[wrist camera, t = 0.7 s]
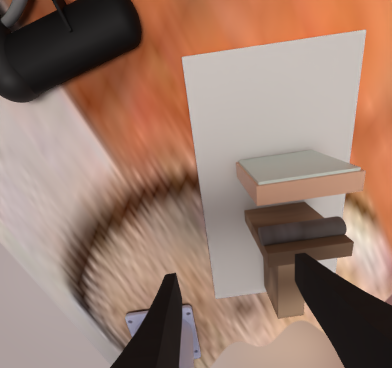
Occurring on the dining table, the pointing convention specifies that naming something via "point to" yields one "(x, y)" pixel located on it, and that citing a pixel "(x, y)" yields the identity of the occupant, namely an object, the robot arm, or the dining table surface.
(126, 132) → the dining table surface
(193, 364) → the robot arm
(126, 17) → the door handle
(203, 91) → the mat
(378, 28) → the dining table surface
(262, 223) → the pusher
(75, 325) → the dining table surface
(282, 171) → the tile
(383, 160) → the dining table surface
